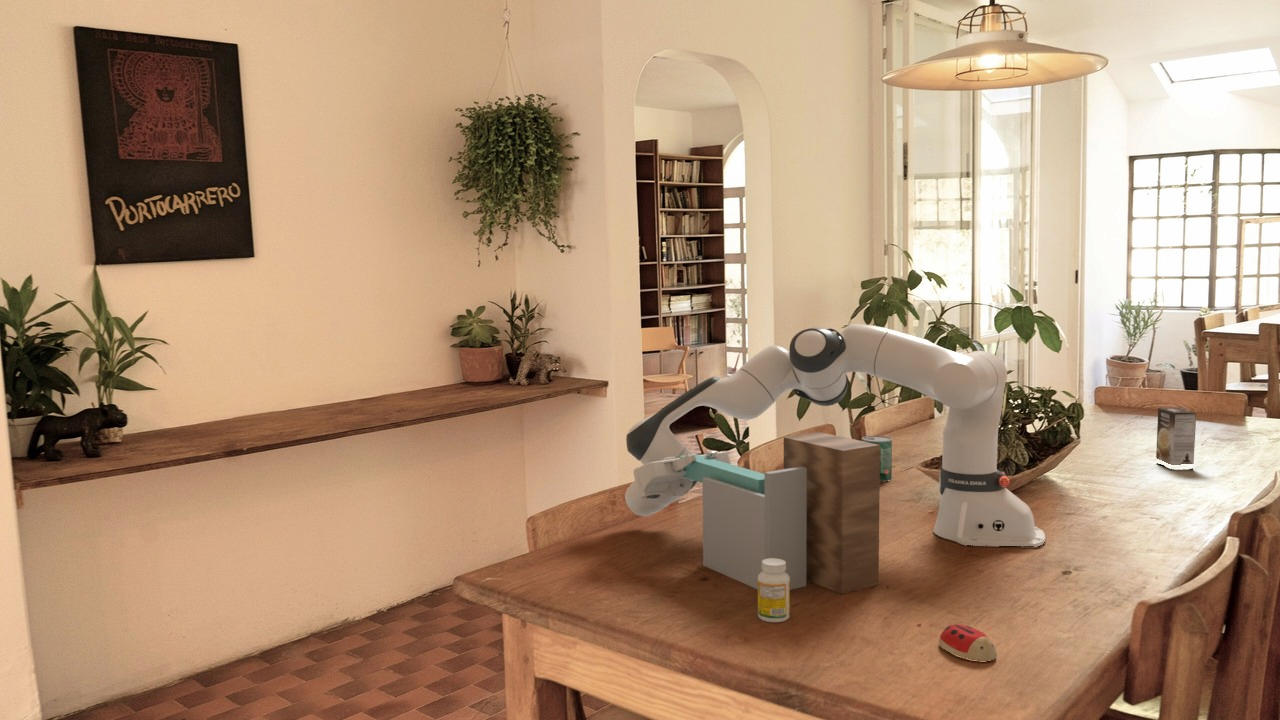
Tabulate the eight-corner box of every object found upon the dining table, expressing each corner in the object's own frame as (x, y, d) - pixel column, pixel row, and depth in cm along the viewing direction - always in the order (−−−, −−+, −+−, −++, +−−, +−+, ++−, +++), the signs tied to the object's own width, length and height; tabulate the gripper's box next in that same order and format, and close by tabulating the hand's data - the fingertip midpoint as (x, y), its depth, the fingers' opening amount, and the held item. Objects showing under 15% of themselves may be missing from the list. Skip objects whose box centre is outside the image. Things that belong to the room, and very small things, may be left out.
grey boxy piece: (703, 565, 194) (702, 454, 192) (737, 557, 198) (737, 449, 196) (770, 594, 177) (769, 473, 174) (806, 586, 181) (806, 467, 179)
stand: (783, 570, 190) (783, 437, 187) (819, 562, 195) (819, 432, 192) (842, 594, 176) (842, 450, 174) (878, 584, 181) (879, 444, 178)
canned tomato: (895, 477, 267) (896, 437, 265) (886, 483, 260) (886, 442, 259) (867, 474, 271) (867, 434, 270) (857, 480, 264) (857, 439, 263)
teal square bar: (679, 475, 203) (679, 456, 203) (695, 472, 205) (695, 453, 205) (758, 501, 181) (758, 480, 181) (775, 498, 183) (775, 477, 183)
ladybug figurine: (976, 669, 145) (977, 645, 144) (926, 646, 153) (926, 624, 153) (1008, 659, 148) (1008, 636, 148) (956, 637, 157) (957, 616, 156)
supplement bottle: (778, 625, 162) (778, 568, 161) (751, 618, 166) (751, 562, 165) (796, 616, 166) (796, 560, 165) (768, 609, 170) (768, 554, 169)
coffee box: (1154, 463, 279) (1156, 407, 277) (1177, 463, 279) (1179, 406, 277) (1171, 470, 270) (1173, 412, 268) (1195, 470, 269) (1197, 412, 268)
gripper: (715, 486, 214) (749, 464, 203) (634, 499, 203) (666, 477, 192) (706, 458, 216) (740, 435, 205) (626, 470, 205) (657, 447, 194)
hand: (703, 456), depth 199 cm, fingers closed on teal square bar, 4 cm apart
